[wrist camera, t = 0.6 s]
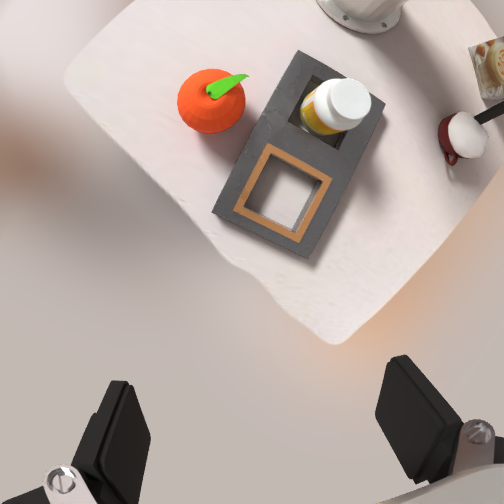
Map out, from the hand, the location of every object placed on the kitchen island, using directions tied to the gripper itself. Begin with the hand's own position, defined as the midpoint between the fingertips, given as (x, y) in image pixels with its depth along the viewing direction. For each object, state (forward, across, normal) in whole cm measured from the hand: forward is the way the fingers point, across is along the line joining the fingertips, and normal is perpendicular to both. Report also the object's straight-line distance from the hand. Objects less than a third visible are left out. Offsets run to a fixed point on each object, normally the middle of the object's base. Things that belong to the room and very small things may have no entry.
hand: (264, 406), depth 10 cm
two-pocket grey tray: (+27, -8, -10) cm, 30 cm away
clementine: (+28, +2, -15) cm, 32 cm away
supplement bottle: (+28, -10, -14) cm, 33 cm away
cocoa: (+28, -30, -13) cm, 43 cm away
